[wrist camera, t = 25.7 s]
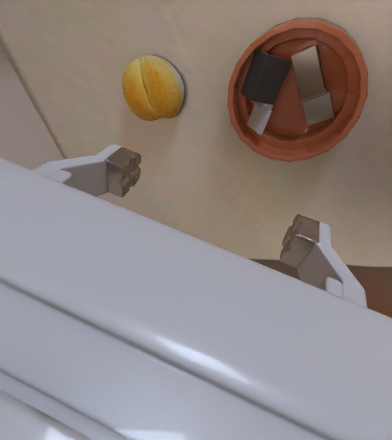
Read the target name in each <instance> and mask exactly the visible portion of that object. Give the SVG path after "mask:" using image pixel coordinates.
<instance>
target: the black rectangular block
mask: <svg viewBox="0 0 392 440" xmlns="http://www.w3.org/2000/svg"><path fill="white" fill-rule="evenodd" d="M290 64H291V61H288V60H286V59H284V58H281V57H279V56H276V55H273V54H269V53H266V52H263V51H260V50H256V49H255V51H254V54H253V57H252V60H251V63H250V66H249V69H248V71H247V74H246V77H245V80H244V83H243V86H242V89H241V92H240V94H242V95H243V96H245V97H246V98H248V99H249V100H250V101H251V102H252V103H254V104H255V105H254V107H253V110H252V112H251V115H250V118H249V120H248V123H247V125H248V126H249V127H250V128H252V129H253V130H254V131H255V132H257V133H258V134H259V135H262V134H263V131H264V129H265V127H266V124H267V122H268V119H269V117H270V115H271V112H272V111H271V109H272V107H273V104H274V101H275V99H276V97H277V94H278V92H279V90H280V87H281V85H282V82H283V80H284V78H285V75H286V73H287V71H288V68H289V66H290Z"/></svg>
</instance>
